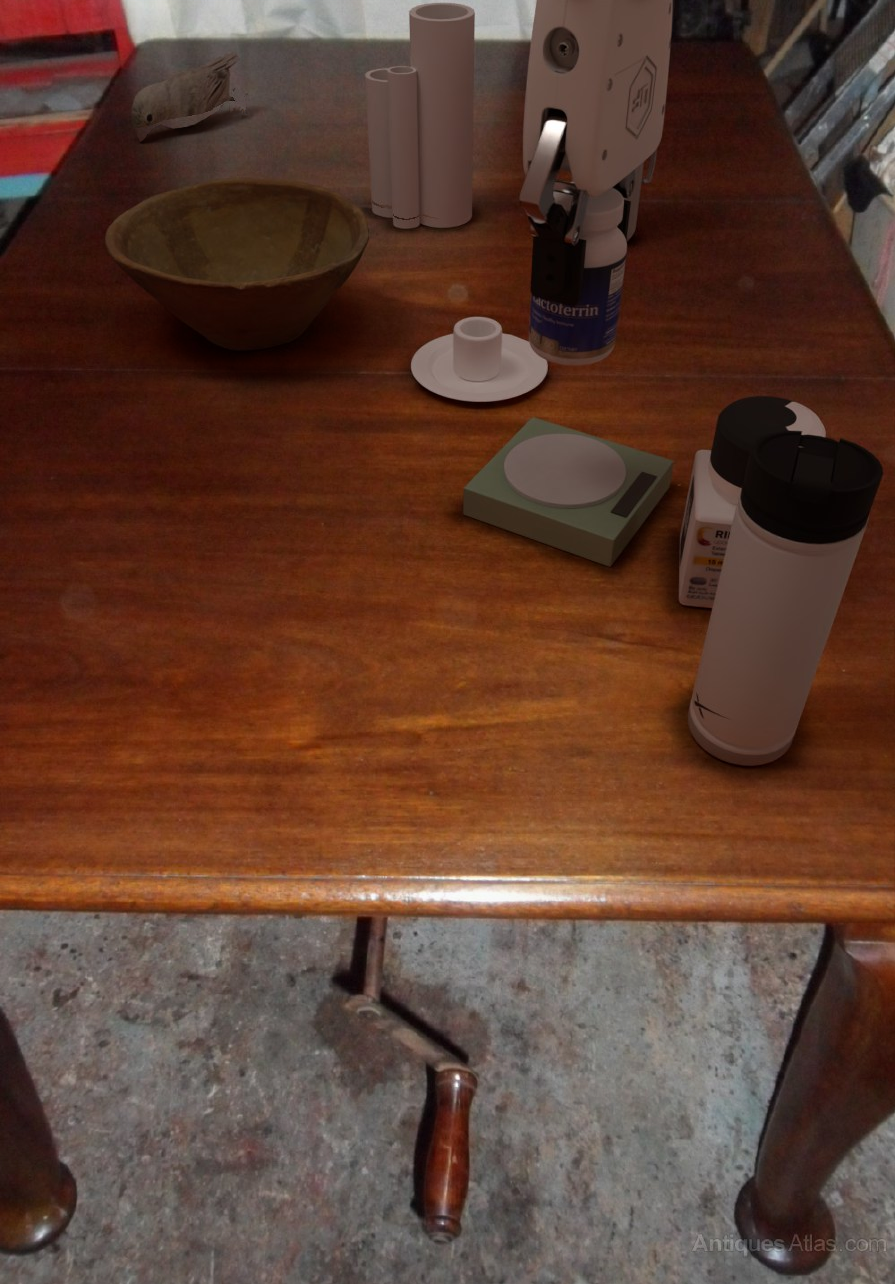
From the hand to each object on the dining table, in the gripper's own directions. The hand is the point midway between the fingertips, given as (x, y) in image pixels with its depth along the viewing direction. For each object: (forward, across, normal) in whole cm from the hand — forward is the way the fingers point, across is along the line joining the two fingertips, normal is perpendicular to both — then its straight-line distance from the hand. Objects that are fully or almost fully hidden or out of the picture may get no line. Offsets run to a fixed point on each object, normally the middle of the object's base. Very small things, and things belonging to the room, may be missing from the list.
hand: (578, 276), depth 67 cm
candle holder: (+18, +14, +15) cm, 28 cm away
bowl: (+18, +10, +37) cm, 42 cm away
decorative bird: (+18, +49, +77) cm, 93 cm away
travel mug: (+18, -14, -19) cm, 30 cm away
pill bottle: (+5, 0, 0) cm, 5 cm away
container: (+18, -1, -14) cm, 23 cm away
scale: (+18, +1, 0) cm, 18 cm away
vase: (+18, +40, +37) cm, 58 cm away
